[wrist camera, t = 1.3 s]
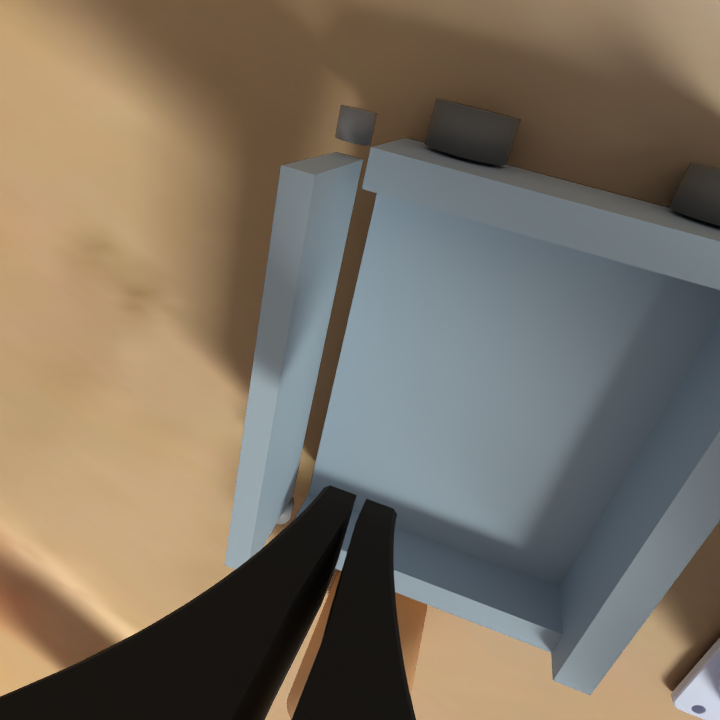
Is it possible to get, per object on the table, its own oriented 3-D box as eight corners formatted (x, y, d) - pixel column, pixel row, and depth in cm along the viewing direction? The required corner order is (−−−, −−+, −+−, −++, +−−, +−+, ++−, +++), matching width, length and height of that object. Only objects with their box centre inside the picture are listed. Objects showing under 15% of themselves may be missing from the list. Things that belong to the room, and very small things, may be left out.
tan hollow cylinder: (439, 582, 24) (412, 737, 18) (412, 644, 26) (381, 799, 20) (344, 546, 25) (288, 683, 19) (325, 609, 27) (271, 750, 21)
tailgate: (363, 159, 15) (315, 175, 11) (292, 496, 21) (246, 574, 17) (329, 150, 15) (271, 162, 12) (268, 487, 21) (218, 562, 18)
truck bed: (799, 189, 15) (935, 229, 10) (562, 586, 22) (573, 717, 18) (370, 81, 16) (307, 69, 12) (288, 485, 24) (230, 578, 19)
